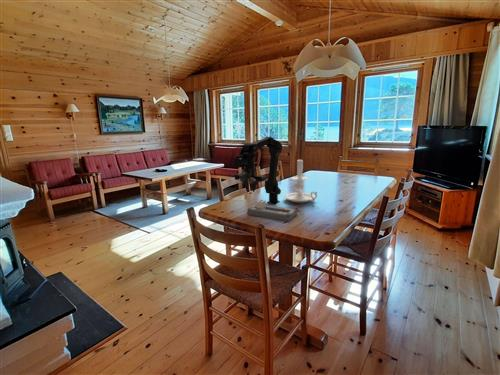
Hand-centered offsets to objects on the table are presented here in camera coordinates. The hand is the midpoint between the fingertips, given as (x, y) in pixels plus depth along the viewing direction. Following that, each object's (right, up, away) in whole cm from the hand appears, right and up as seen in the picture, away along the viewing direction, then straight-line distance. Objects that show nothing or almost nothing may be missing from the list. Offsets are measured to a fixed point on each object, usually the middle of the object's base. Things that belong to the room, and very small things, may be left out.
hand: (250, 191), depth 159 cm
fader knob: (+6, -10, -1) cm, 12 cm away
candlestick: (+34, -7, +19) cm, 40 cm away
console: (+12, -13, -4) cm, 18 cm away
